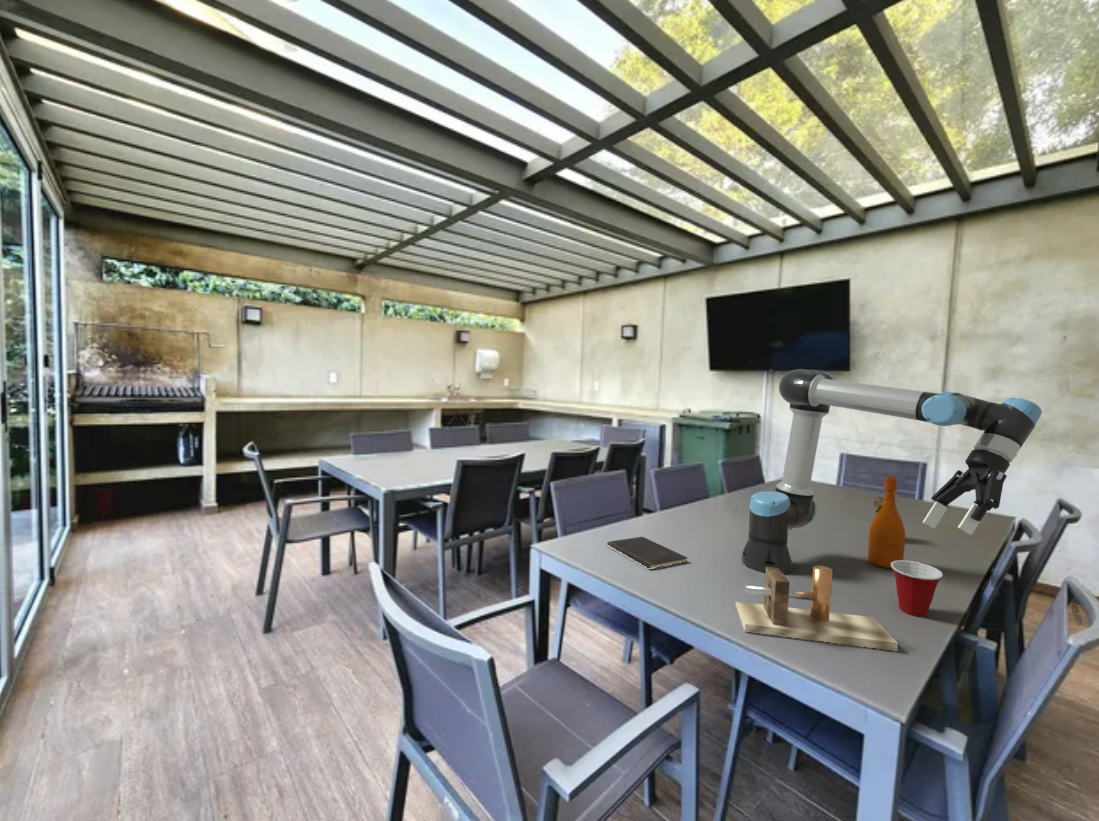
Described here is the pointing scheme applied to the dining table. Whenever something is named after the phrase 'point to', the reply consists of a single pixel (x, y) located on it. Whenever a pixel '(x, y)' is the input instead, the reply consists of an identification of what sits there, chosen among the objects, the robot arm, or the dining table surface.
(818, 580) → the copper cylinder with rod
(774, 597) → the copper canister stand
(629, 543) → the hardcover book
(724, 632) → the dining table surface
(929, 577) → the plastic cup
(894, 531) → the wine bottle
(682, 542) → the dining table surface
